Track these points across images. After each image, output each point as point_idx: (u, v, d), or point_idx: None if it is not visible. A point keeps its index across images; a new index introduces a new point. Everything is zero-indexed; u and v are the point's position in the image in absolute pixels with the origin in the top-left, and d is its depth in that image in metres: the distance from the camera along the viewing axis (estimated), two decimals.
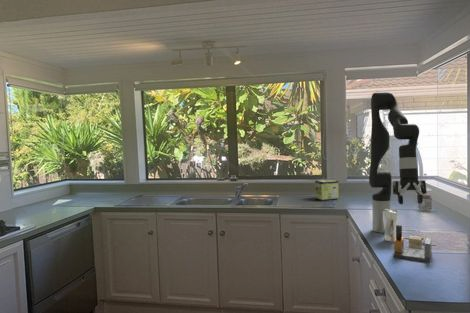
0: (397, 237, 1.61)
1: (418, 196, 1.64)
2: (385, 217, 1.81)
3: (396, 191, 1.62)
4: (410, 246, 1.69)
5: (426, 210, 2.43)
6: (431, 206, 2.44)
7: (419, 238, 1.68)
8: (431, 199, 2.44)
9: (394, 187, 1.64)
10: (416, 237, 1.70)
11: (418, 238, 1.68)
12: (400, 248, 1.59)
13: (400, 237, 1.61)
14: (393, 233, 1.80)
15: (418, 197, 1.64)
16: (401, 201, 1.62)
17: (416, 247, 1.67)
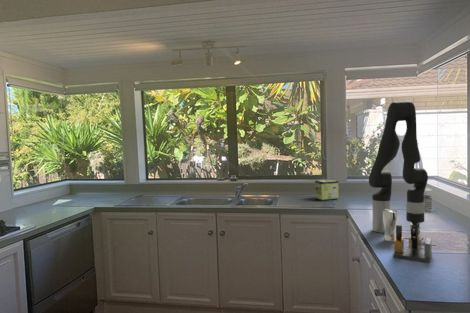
0: (397, 237, 1.61)
1: None
2: (385, 217, 1.81)
3: (416, 238, 1.64)
4: (410, 246, 1.69)
5: (426, 210, 2.43)
6: (431, 206, 2.44)
7: (419, 238, 1.68)
8: (431, 199, 2.44)
9: (414, 235, 1.64)
10: None
11: (418, 238, 1.68)
12: (400, 248, 1.59)
13: (400, 237, 1.61)
14: (393, 233, 1.80)
15: None
16: (416, 246, 1.67)
17: None
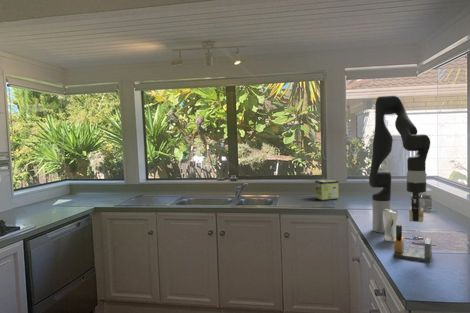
0: (397, 237, 1.61)
1: None
2: (385, 217, 1.81)
3: (418, 209, 1.52)
4: (411, 218, 1.57)
5: (426, 210, 2.43)
6: (431, 206, 2.44)
7: (420, 209, 1.56)
8: (431, 199, 2.44)
9: (415, 205, 1.52)
10: None
11: (419, 209, 1.56)
12: (400, 248, 1.59)
13: (400, 237, 1.61)
14: (393, 233, 1.80)
15: None
16: (418, 218, 1.55)
17: None
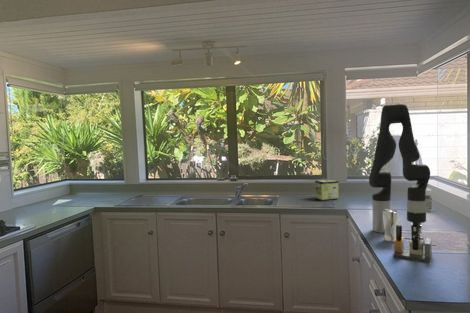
0: (397, 237, 1.61)
1: (417, 237, 1.62)
2: (385, 217, 1.81)
3: (417, 238, 1.52)
4: (411, 250, 1.58)
5: (426, 210, 2.43)
6: (431, 206, 2.44)
7: (420, 242, 1.57)
8: (431, 199, 2.44)
9: (414, 234, 1.52)
10: None
11: (419, 242, 1.57)
12: (400, 248, 1.59)
13: (400, 237, 1.61)
14: (393, 233, 1.80)
15: (417, 238, 1.62)
16: (417, 247, 1.54)
17: (417, 252, 1.56)
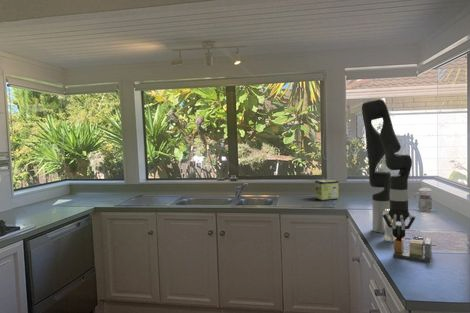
0: (397, 237, 1.61)
1: None
2: None
3: None
4: (411, 250, 1.58)
5: (426, 210, 2.43)
6: (431, 206, 2.44)
7: (420, 242, 1.57)
8: (431, 199, 2.44)
9: None
10: (417, 241, 1.59)
11: (419, 242, 1.57)
12: (400, 248, 1.59)
13: (400, 237, 1.61)
14: None
15: None
16: None
17: (417, 252, 1.56)
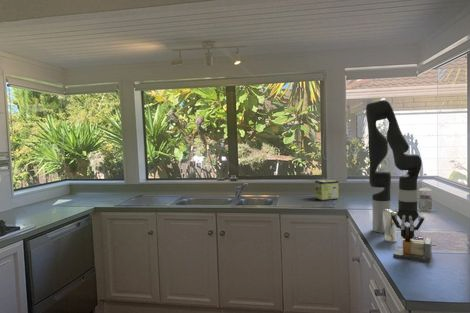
0: (406, 238, 1.60)
1: (404, 230, 1.61)
2: (385, 217, 1.81)
3: None
4: (412, 251, 1.57)
5: (426, 210, 2.43)
6: (431, 206, 2.44)
7: (422, 242, 1.57)
8: (431, 199, 2.44)
9: None
10: (418, 241, 1.59)
11: (421, 242, 1.57)
12: (409, 249, 1.57)
13: (409, 238, 1.59)
14: (393, 233, 1.80)
15: (404, 231, 1.61)
16: None
17: (418, 252, 1.56)
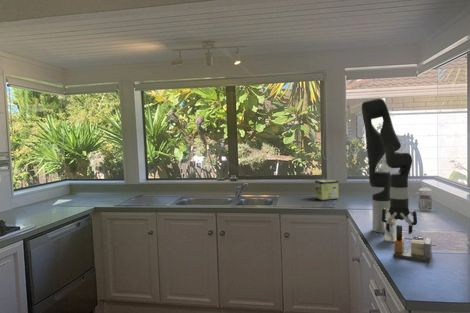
0: (397, 237, 1.61)
1: (389, 224, 1.64)
2: None
3: None
4: (412, 251, 1.57)
5: (426, 210, 2.43)
6: (431, 206, 2.44)
7: (422, 242, 1.57)
8: (431, 199, 2.44)
9: (416, 217, 1.59)
10: (419, 241, 1.58)
11: (421, 242, 1.57)
12: (400, 248, 1.59)
13: (400, 237, 1.61)
14: (393, 233, 1.80)
15: (389, 225, 1.64)
16: None
17: (419, 252, 1.56)
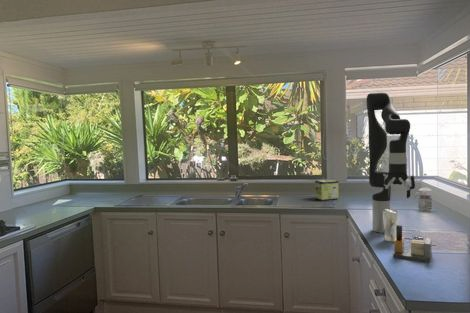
0: (397, 237, 1.61)
1: (388, 190, 1.70)
2: (385, 217, 1.81)
3: None
4: (412, 251, 1.57)
5: (426, 210, 2.43)
6: (431, 206, 2.44)
7: (422, 242, 1.57)
8: (431, 199, 2.44)
9: (414, 181, 1.65)
10: (419, 241, 1.58)
11: (421, 242, 1.57)
12: (400, 248, 1.59)
13: (400, 237, 1.61)
14: (393, 233, 1.80)
15: (388, 191, 1.70)
16: None
17: (419, 252, 1.56)
